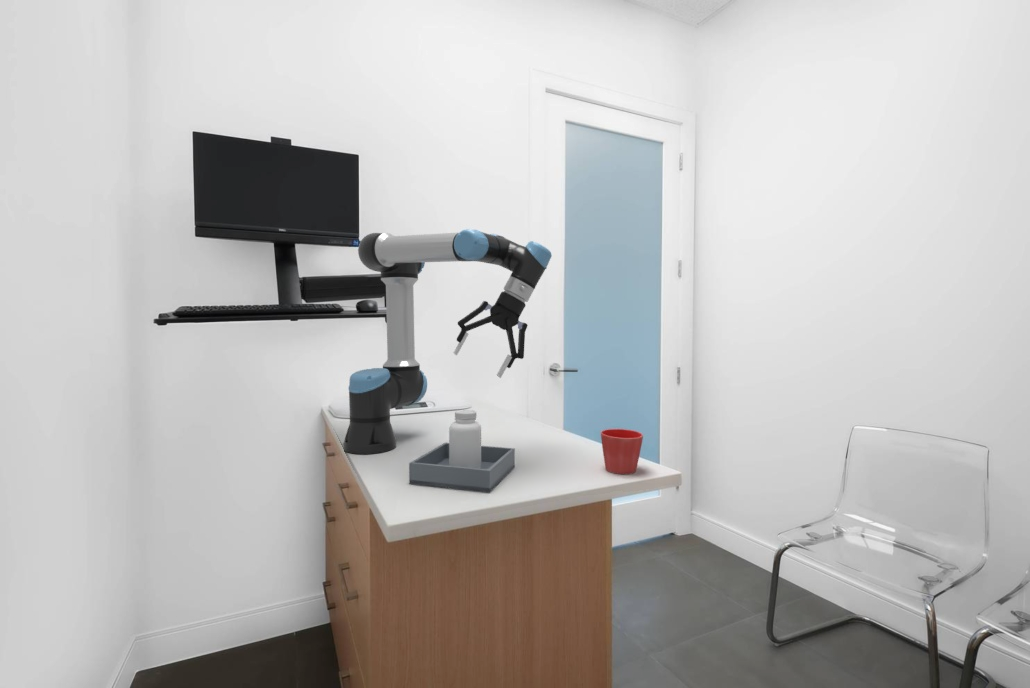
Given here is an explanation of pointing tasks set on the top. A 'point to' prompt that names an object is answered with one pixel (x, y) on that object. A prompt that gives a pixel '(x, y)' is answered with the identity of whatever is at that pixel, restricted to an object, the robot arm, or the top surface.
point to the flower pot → (621, 450)
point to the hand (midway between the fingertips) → (477, 365)
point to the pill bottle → (465, 440)
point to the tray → (462, 469)
